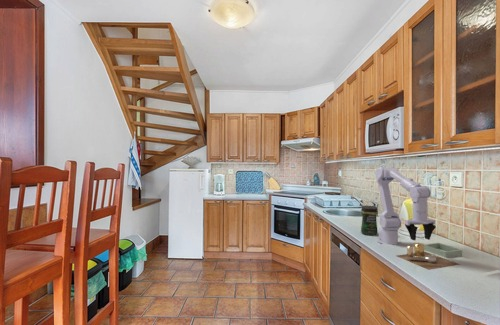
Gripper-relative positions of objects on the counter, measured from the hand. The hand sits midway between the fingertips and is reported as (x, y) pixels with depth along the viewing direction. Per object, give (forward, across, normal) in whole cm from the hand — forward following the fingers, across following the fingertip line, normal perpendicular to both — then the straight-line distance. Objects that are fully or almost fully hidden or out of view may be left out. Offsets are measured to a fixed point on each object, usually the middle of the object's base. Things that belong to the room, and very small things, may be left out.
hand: (420, 239), depth 114 cm
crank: (+8, -4, -5) cm, 10 cm away
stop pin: (+8, 0, 0) cm, 8 cm away
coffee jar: (+10, +1, +41) cm, 42 cm away
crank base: (+9, 0, -4) cm, 10 cm away
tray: (+9, +16, +4) cm, 19 cm away
